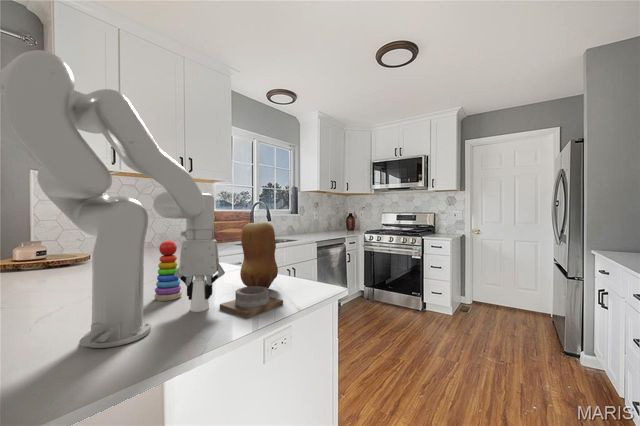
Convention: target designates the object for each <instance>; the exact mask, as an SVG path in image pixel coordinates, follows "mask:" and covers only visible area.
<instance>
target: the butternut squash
mask: <svg viewBox="0 0 640 426" xmlns="http://www.w3.org/2000/svg"><path fill="white" fill-rule="evenodd" d="M275 233H276V232H275V228H274V227H273V224H272V223H271V222H268V221H260V222H249V223H246V224H245V225H244V226H242V229H241V234H240V238H241V240H240V241H241V247H242V253H243V262H242V264H241V267H240V273H239V275H240V280H241V282H242V283H243V285H244V286H245V287H250V286H261V287H266V288H268V289H270V287H271V285H272V284H273V282H274V280H275V279H276V278H277V277H278V272H279V270H278V269H279V268H278V264H277V260H276V249H277V244H276V234H275Z"/></svg>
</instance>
